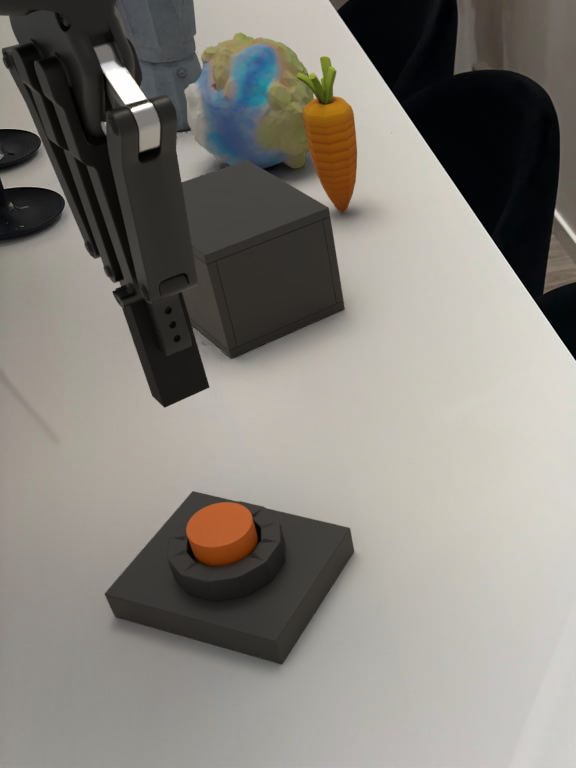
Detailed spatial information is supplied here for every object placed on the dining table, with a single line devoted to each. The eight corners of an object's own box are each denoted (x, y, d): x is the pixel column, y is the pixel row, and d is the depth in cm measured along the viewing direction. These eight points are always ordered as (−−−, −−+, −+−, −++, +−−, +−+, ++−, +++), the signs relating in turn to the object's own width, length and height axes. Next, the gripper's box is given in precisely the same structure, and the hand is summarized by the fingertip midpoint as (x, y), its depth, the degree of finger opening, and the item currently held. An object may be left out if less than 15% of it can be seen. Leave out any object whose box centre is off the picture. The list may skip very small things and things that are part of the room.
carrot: (340, 227, 98) (317, 73, 88) (309, 213, 101) (282, 63, 90) (376, 209, 101) (357, 58, 90) (344, 197, 103) (322, 48, 93)
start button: (180, 559, 59) (172, 538, 58) (214, 516, 62) (208, 496, 61) (236, 573, 58) (230, 553, 57) (269, 529, 61) (264, 509, 60)
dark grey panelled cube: (159, 298, 89) (129, 199, 83) (267, 255, 94) (247, 159, 88) (231, 358, 82) (204, 255, 75) (345, 308, 87) (329, 207, 80)
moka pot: (194, 143, 116) (147, -44, 102) (107, 121, 122) (52, -59, 108) (248, 116, 121) (211, -65, 108) (163, 96, 128) (118, -78, 114)
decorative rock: (157, 26, 99) (292, 39, 96) (233, 30, 112) (353, 41, 109) (166, 169, 105) (293, 185, 102) (237, 156, 119) (350, 170, 116)
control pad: (114, 617, 61) (94, 573, 58) (200, 513, 67) (185, 470, 65) (282, 664, 57) (269, 621, 55) (354, 551, 64) (346, 507, 61)
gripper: (188, -121, 34) (303, 415, 50) (48, -154, 42) (187, 320, 58) (-24, -81, 31) (173, 479, 47) (-134, -125, 38) (68, 370, 55)
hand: (180, 391), depth 52 cm, fingers closed
